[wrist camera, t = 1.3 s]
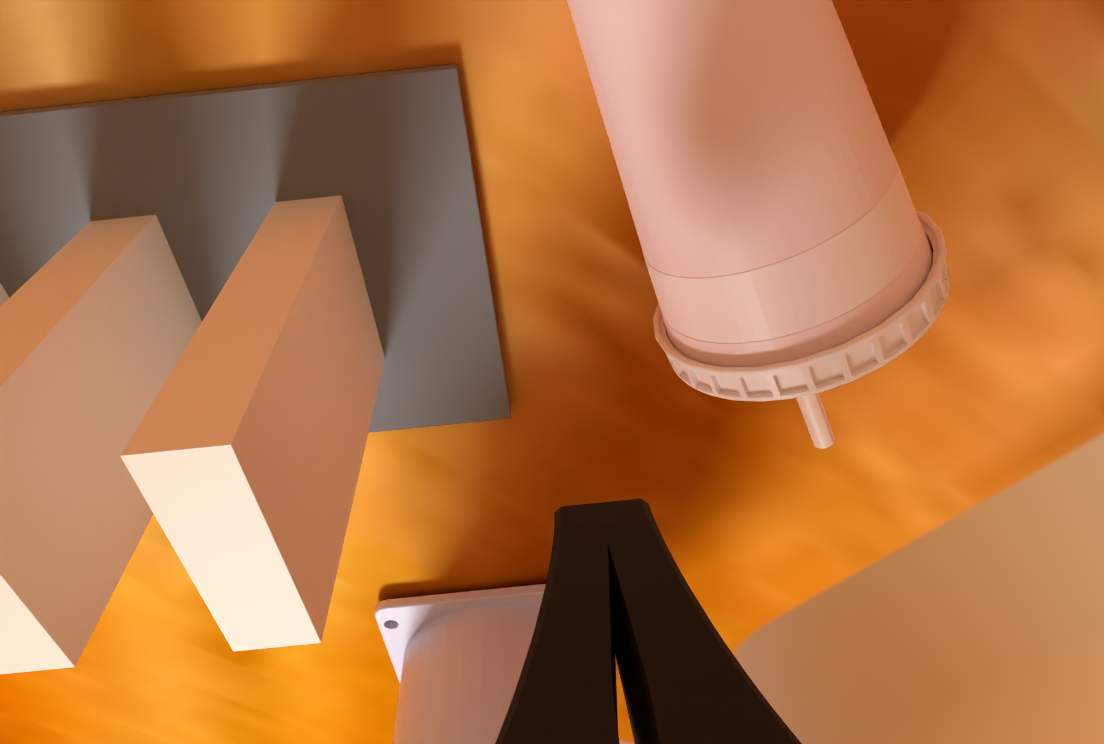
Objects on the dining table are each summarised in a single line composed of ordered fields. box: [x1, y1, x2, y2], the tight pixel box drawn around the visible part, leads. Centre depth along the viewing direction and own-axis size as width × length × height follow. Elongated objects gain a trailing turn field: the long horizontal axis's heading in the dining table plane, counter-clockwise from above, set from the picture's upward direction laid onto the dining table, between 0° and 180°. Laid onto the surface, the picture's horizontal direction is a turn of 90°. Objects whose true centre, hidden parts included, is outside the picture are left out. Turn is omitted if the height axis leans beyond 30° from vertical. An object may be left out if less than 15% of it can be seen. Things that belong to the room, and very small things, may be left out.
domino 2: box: [120, 195, 385, 651], centre depth 16 cm, size 2×5×9 cm, turn 5°
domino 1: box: [0, 215, 202, 674], centre depth 16 cm, size 2×5×9 cm, turn 5°
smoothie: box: [567, 0, 950, 449], centre depth 16 cm, size 6×6×14 cm
